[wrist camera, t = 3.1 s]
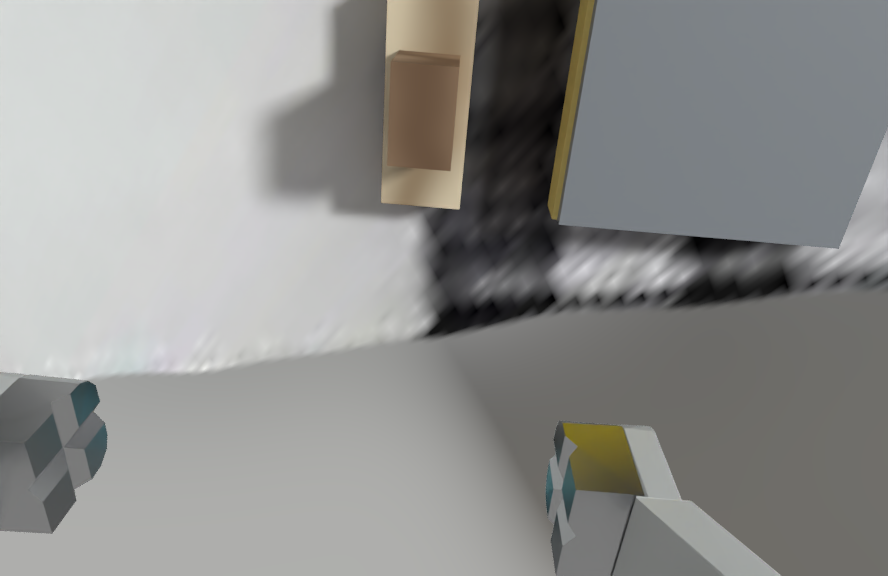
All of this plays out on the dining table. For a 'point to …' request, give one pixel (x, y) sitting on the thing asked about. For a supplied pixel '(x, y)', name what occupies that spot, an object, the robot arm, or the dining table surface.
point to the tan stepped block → (453, 32)
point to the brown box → (422, 110)
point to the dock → (722, 117)
